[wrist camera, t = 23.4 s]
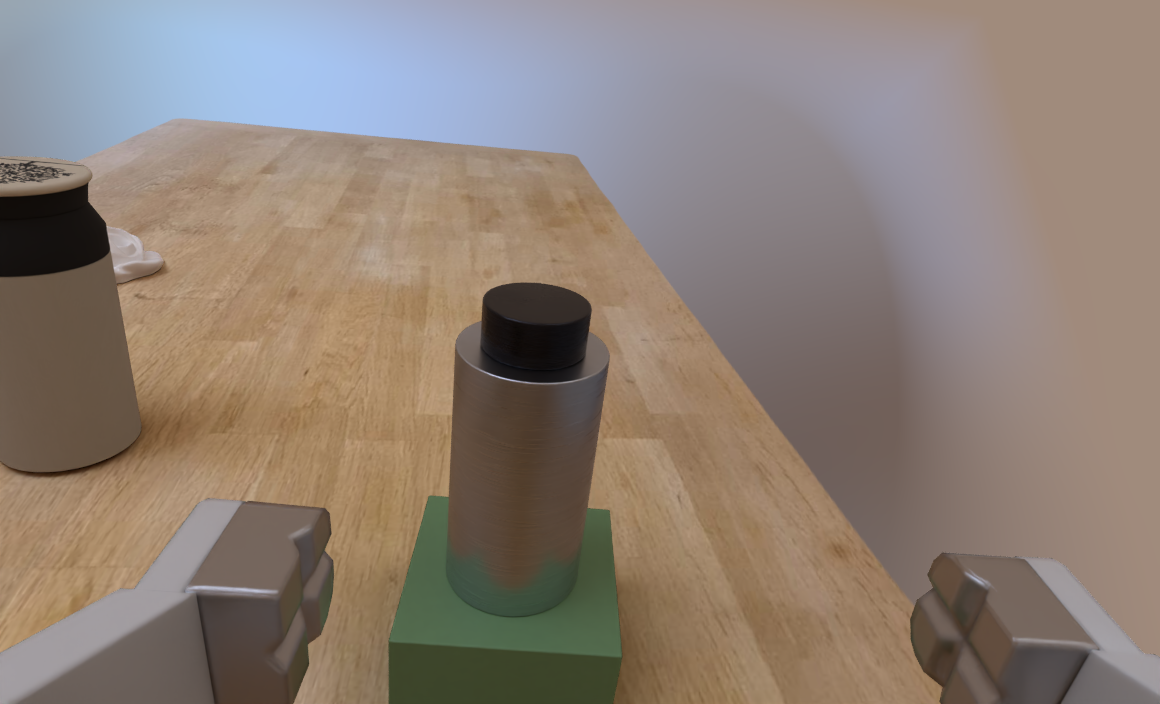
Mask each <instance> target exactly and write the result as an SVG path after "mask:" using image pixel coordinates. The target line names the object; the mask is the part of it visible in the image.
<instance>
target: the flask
mask: <svg viewBox="0 0 1160 704" xmlns="http://www.w3.org/2000/svg"><path fill="white" fill-rule="evenodd" d="M591 311H592V309H591V305H590V303H589V302H588V301H587V300H586V299H585V298H584V297H583V296H581V295H579V294H577V293H576V292H573V291H571V290H568V289H565V288H562V287H558V286H553V285H548V284H541V283H512V284H505V285H501V286H497V287H495V288H493V289H491V290H489V291H488V292H487V293H486V294H485V295H484V297H483V305H482V321H480V322H477V323H475V324H472V325H470V326H469V327H467V328H466V329H464V330H463V331H462V332H461V333H460V334H459V336H458V338H457V340H456V344H455V365H454V389H453V412H452V435H451V459H450V482H449V505H448V529H447V552H446V574H447V578H448V581H449V583H450V585H451V587H452V588H453V590H454V591H455V592H456V594H457V595H458V596H459V597H460V598H461V599H463V600H464V601H465V602H466V603H468V604H470V605H471V606H473V607H475V608H477V609H479V610H481V611H484V612H487V613H490V614H494V615H499V616H507V617H520V616H529V615H534V614H538V613H541V612H544V611H546V610H549V609H551V608H553V607H554V606H556V605H558V604H559V603H560V602H562V601H563V600H564V599H565V598H566V597H567V596H568V595H569V593H570V592H571V591H572V589H573V587H574V585H575V583H576V580H577V575H578V568H579V561H580V555H581V548H582V541H583V535H584V528H585V521H586V514H587V508H588V501H589V494H590V487H591V481H592V474H593V467H594V460H595V454H596V447H597V440H598V433H599V427H600V420H601V413H602V406H603V400H604V393H605V386H606V380H607V373H608V366H609V358H610V355H609V351H608V349H607V347H606V345H605V344H604V343H603V341H602V340H600V339H599V338H598V337H597V336H595V335H594V334H593V333H591V332H589V326H590V319H591Z"/></svg>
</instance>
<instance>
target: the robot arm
mask: <svg viewBox="0 0 1160 704" xmlns="http://www.w3.org/2000/svg"><path fill="white" fill-rule="evenodd" d="M331 534H332V533H331V523H330V513H329V512H328V511H327V510H326V509H325V508H318V507H307V506H297V505H286V504H276V503H265V502H254V501H247V502H245V501H238V500H226V499H215V498H207V499H205V500H203V501H201V502H199V503H198V504H197V505H196V506H195V508H194V509H193V510H192V512H191V513H190V514H189V516H188V517H187V518H186V520H185V521H184V522H183V524H182V525H181V526H180V528H179V529H178V530H177V532H176V533H175V534H174V536H173V537H172V538H171V540H170V541H169V542H168V544H167V545H166V546H165V548H164V549H163V550H162V552H161V553H160V554H159V556H158V557H157V558H156V560H155V561H154V562H153V564H152V565H151V566H150V568H149V569H148V570H147V572H146V573H145V574H144V576H143V577H142V578H141V580H140V581H139V582H138V584H137V585H136V586H135V588H134V589H122V588H120V589H119V590H117V591H115V592H113V593H111V594H109V595H107V596H105V597H104V598H102V599H100V600H98V601H96V602H94V603H92V604H90V605H89V606H87V607H85V608H83V609H81V610H79V611H77V612H76V613H74V614H72V615H70V616H68V617H66V618H64V619H62V620H61V621H59V622H57V623H55V624H53V625H51V626H49V627H47V628H46V629H44V630H42V631H40V632H38V633H36V634H34V635H33V636H31V637H29V638H27V639H25V640H23V641H21V642H19V643H18V644H16V645H14V646H12V647H10V648H8V649H6V650H4V651H3V652H1V653H0V704H293V703H294V701H295V698H296V696H297V693H298V691H299V688H300V686H301V683H302V681H303V678H304V676H305V673H306V671H307V668H308V666H309V656H308V644H309V643H310V642H312V641H313V640H314V639H316V638H317V637H318V636H320V635H321V632H322V630H323V627H324V624H325V622H326V619H327V616H328V612H329V607H330V603H331V598H332V594H333V580H334V567H333V560H332V559H331V558H330V556H329V555H328V554H327V553H326V552H325V551H324V550H325V548H326V545H327V543H328V541H329V538H330V536H331ZM928 577H929V580H930V582H931V584H932V586H933V588H932V589H931V590H930V591H928V592H927V593H926V594H924V595H923V596H922V597H920V598H919V599H918V600H917V602H916V605H915V607H914V610H913V613H912V616H911V618H910V625H911V642H912V646H913V649H914V653H915V656H916V658H917V660H918V662H919V664H920V666H921V668H922V670H923V672H925V673H926V674H927V675H928V676H930V677H931V678H932V679H933V680H935V681H936V682H937V683H938V684H940V685H941V686H942V687H943V688H942V692H941V697H940V701H939V702H940V703H941V704H1160V657H1159V656H1157V655H1155V654H1144V653H1143V652H1142V651H1141V650H1140V649H1139V648H1138V646H1137V645H1136V644H1135V643H1134V642H1133V641H1132V640H1131V639H1130V638H1129V636H1128V635H1127V634H1126V633H1125V632H1124V631H1123V630H1122V629H1121V628H1120V627H1119V626H1118V624H1117V623H1116V622H1115V621H1114V620H1113V619H1112V617H1111V616H1110V615H1109V614H1108V613H1107V612H1106V611H1105V610H1104V609H1103V607H1102V606H1101V605H1100V604H1099V603H1098V602H1097V601H1096V600H1095V599H1094V597H1093V596H1091V594H1090V593H1089V592H1088V591H1087V590H1086V589H1085V588H1084V586H1083V585H1082V584H1081V583H1080V582H1079V581H1078V580H1077V579H1076V577H1075V576H1074V575H1073V574H1072V573H1071V572H1070V571H1069V570H1068V569H1067V567H1066V566H1065V565H1063V564H1062V563H1059V562H1058V561H1056V560H1054V559H1052V558H1038V557H1017V556H1015V557H1001V556H987V555H971V554H956V553H941V554H940V555H939V556H938V557H937V558H936V559H935V560H934V561H933V563H932V565H931V568H930V570H929V572H928Z"/></svg>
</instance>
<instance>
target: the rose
mask: <svg viewBox="0 0 1160 704" xmlns="http://www.w3.org/2000/svg"><path fill="white" fill-rule="evenodd" d="M107 233H108V239H109V244H110V250H111V256H112V261H113V267H114V273H115V278H116V284H118V283H124V282H127V281H130V280H132V279H135V278H139V277H142V276H147V275H150V274H153V273H154V272H156V271H158V270H159V269H160V268H161V266H162V265H163V263H164V261H163V259H161V256H160V254H159V253H157V252H154V251H144V245H143V243H142V242H141V240H140V239H139V238H138V237H137V236H135V235H131V234H130V233H128V232H127V231H125V230H122V229H117V228H113V227H107Z"/></svg>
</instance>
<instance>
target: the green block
mask: <svg viewBox="0 0 1160 704" xmlns="http://www.w3.org/2000/svg"><path fill="white" fill-rule="evenodd" d="M448 505H449V497H442V496H429V497H428V501H427V504H426V508H425V512H424V515H423V519H422V522H421V526H420V530H419V533H418V537H417V540H416V544H415V548H414V551H413V555H412V558H411V562H410V566H409V569H408V573H407V576H406V580H405V584H404V587H403V591H402V594H401V598H400V602H399V605H398V609H397V612H396V616H395V620H394V623H393V627H392V631H391V634H390V638H389V704H613V702H614V697H615V692H616V687H617V681H618V676H619V671H620V666H621V661H622V647H621V635H620V624H619V612H618V601H617V590H616V578H615V567H614V555H613V544H612V532H611V521H610V511H609V510H603V509H591V508H587V514H586V521H585V528H584V535H583V541H582V548H581V555H580V561H579V568H578V575H577V580H576V583H575V585H574V587H573V589H572V591H571V592H570V593H569V595H568V596H567V597H566V598H565V599H564V600H563V601H562V602H560V603H559V604H558V605H556V606H554V607H553V608H551V609H549V610H546V611H544V612H541V613H538V614H534V615H529V616H520V617H507V616H499V615H494V614H490V613H487V612H484V611H481V610H479V609H477V608H475V607H473V606H471V605H470V604H468V603H466V602H465V601H464V600H463V599H461V598H460V597H459V596H458V595H457V594H456V592H455V591H454V590H453V588H452V587H451V585H450V583H449V581H448V578H447V574H446V552H447V529H448Z"/></svg>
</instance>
